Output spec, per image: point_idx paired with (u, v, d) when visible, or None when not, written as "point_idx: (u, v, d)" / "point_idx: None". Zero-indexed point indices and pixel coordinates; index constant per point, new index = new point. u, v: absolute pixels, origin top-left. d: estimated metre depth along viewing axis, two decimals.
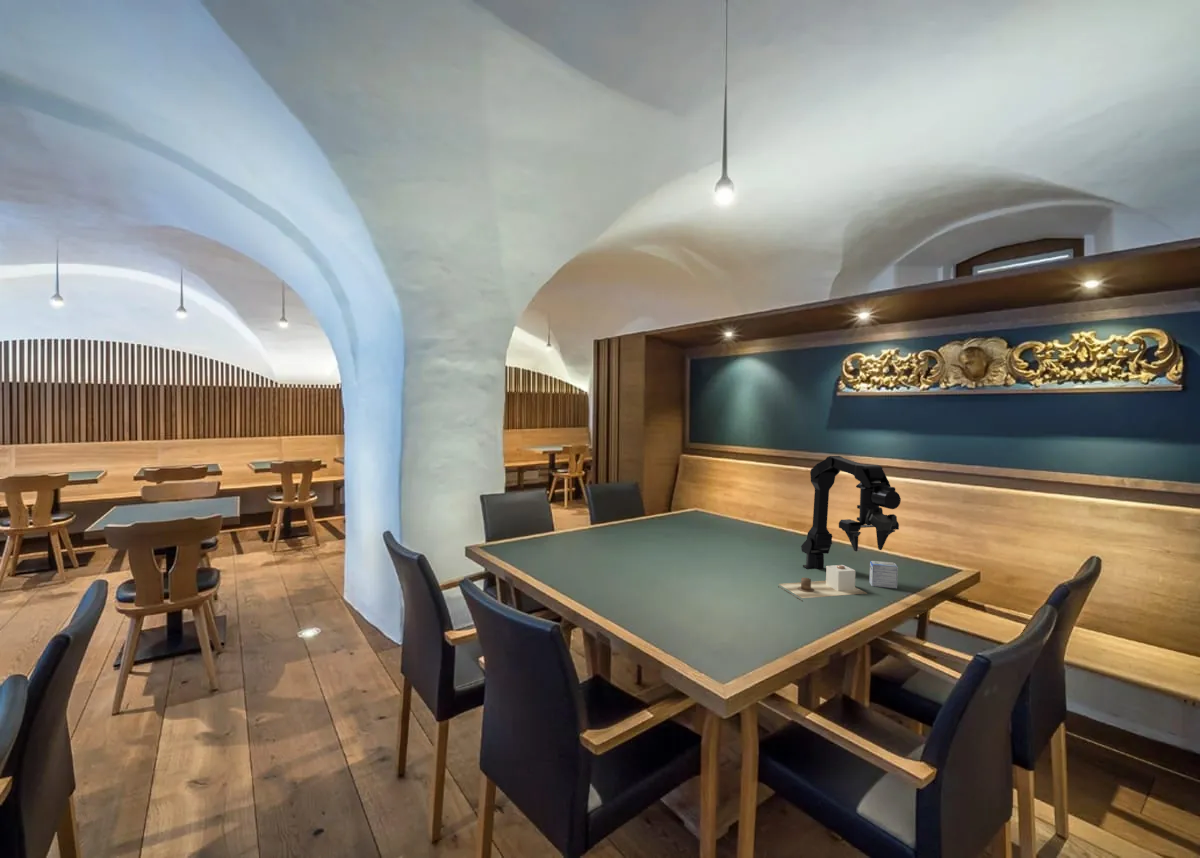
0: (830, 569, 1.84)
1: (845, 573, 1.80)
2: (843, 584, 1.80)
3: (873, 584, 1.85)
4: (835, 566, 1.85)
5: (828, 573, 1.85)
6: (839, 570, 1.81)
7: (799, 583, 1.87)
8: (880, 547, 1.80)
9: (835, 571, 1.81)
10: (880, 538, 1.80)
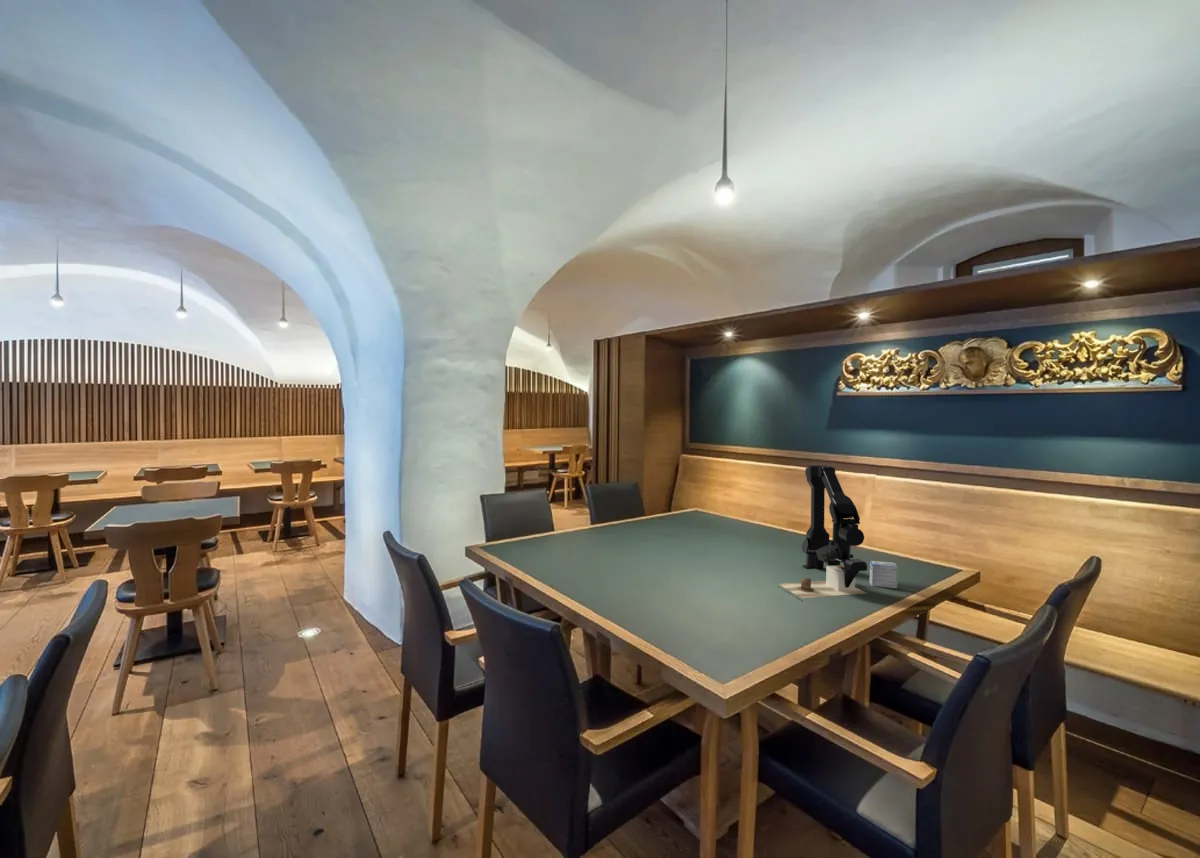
0: (830, 569, 1.84)
1: None
2: (843, 584, 1.80)
3: (873, 584, 1.85)
4: (835, 566, 1.85)
5: (828, 573, 1.85)
6: (839, 570, 1.81)
7: (799, 583, 1.87)
8: None
9: (835, 571, 1.81)
10: None
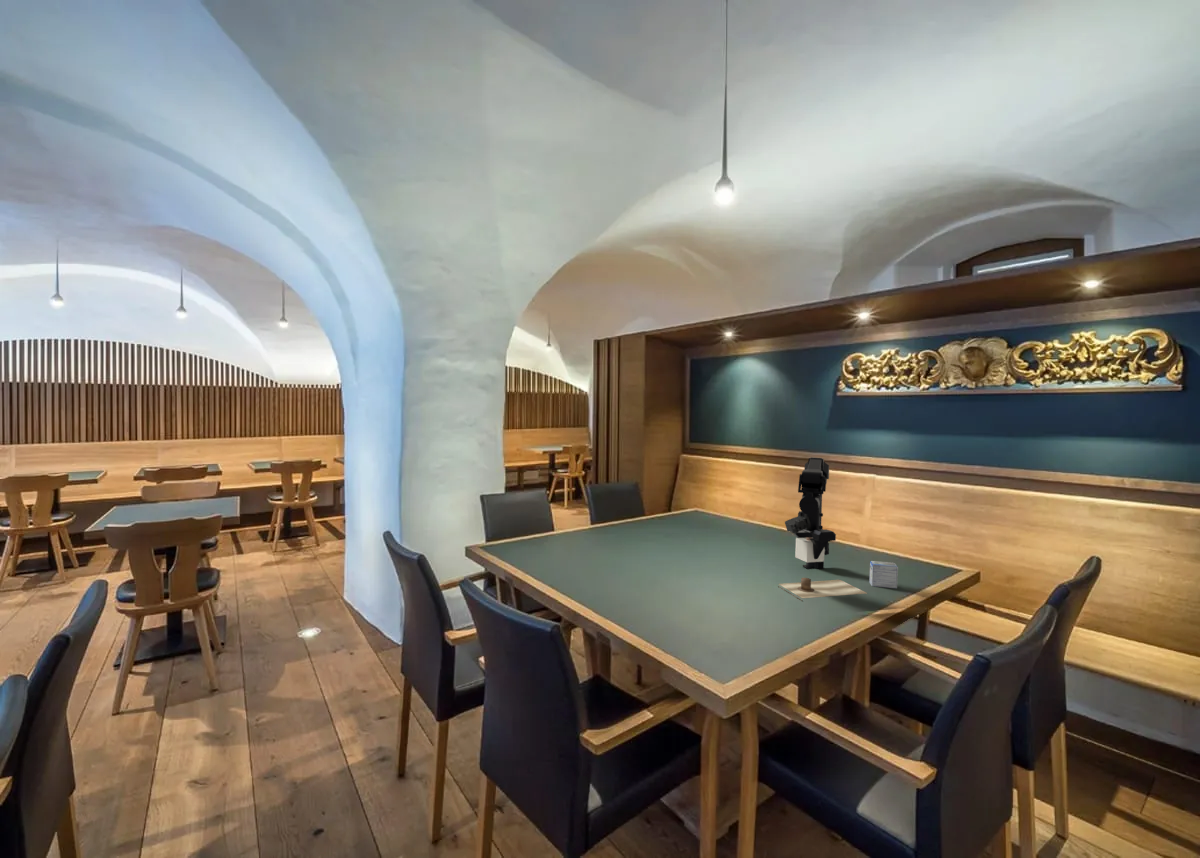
0: (799, 541, 1.80)
1: None
2: (812, 555, 1.77)
3: (873, 584, 1.85)
4: (804, 538, 1.82)
5: (797, 545, 1.81)
6: (808, 541, 1.77)
7: (799, 583, 1.87)
8: None
9: (804, 542, 1.78)
10: None
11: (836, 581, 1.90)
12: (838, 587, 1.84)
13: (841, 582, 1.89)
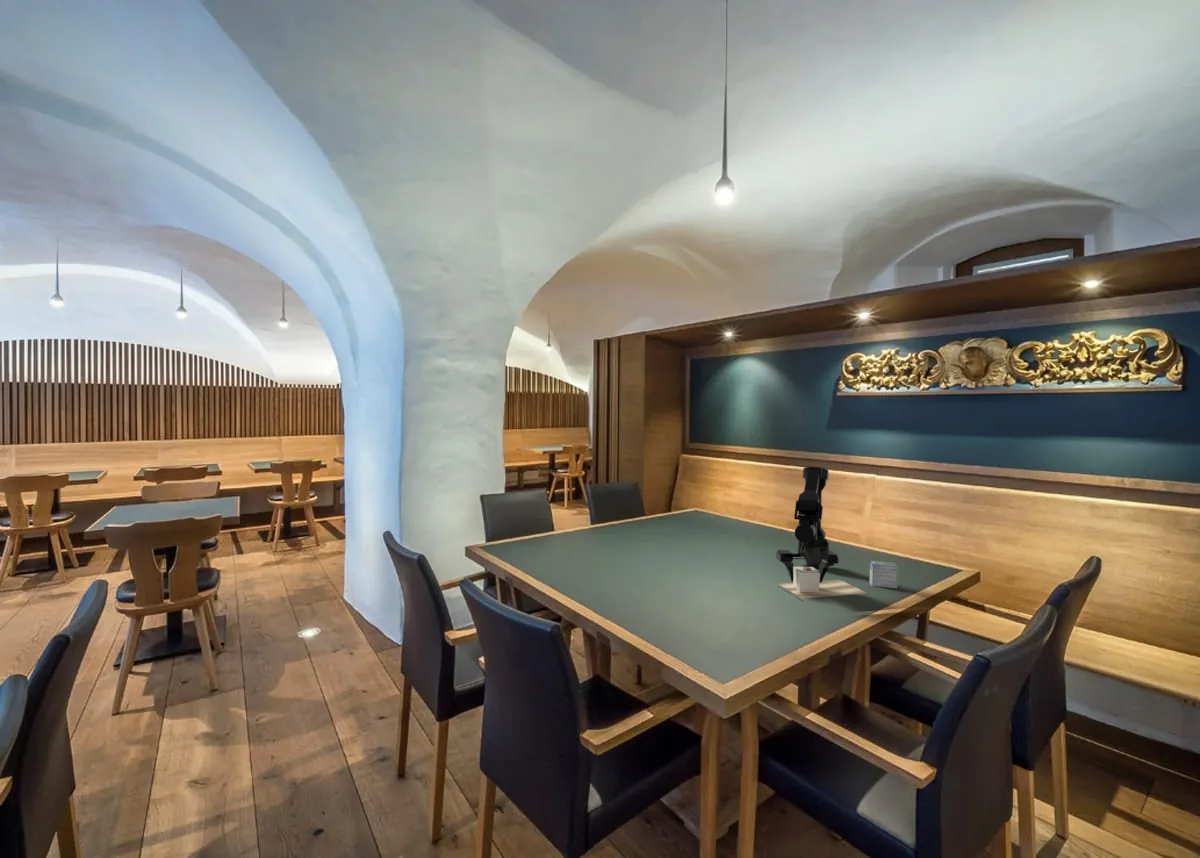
0: (806, 574, 1.78)
1: None
2: None
3: (873, 584, 1.85)
4: (801, 570, 1.80)
5: (803, 579, 1.78)
6: (815, 571, 1.78)
7: None
8: (820, 580, 1.80)
9: (814, 574, 1.77)
10: (820, 571, 1.81)
11: (836, 581, 1.90)
12: (838, 587, 1.84)
13: (841, 582, 1.89)
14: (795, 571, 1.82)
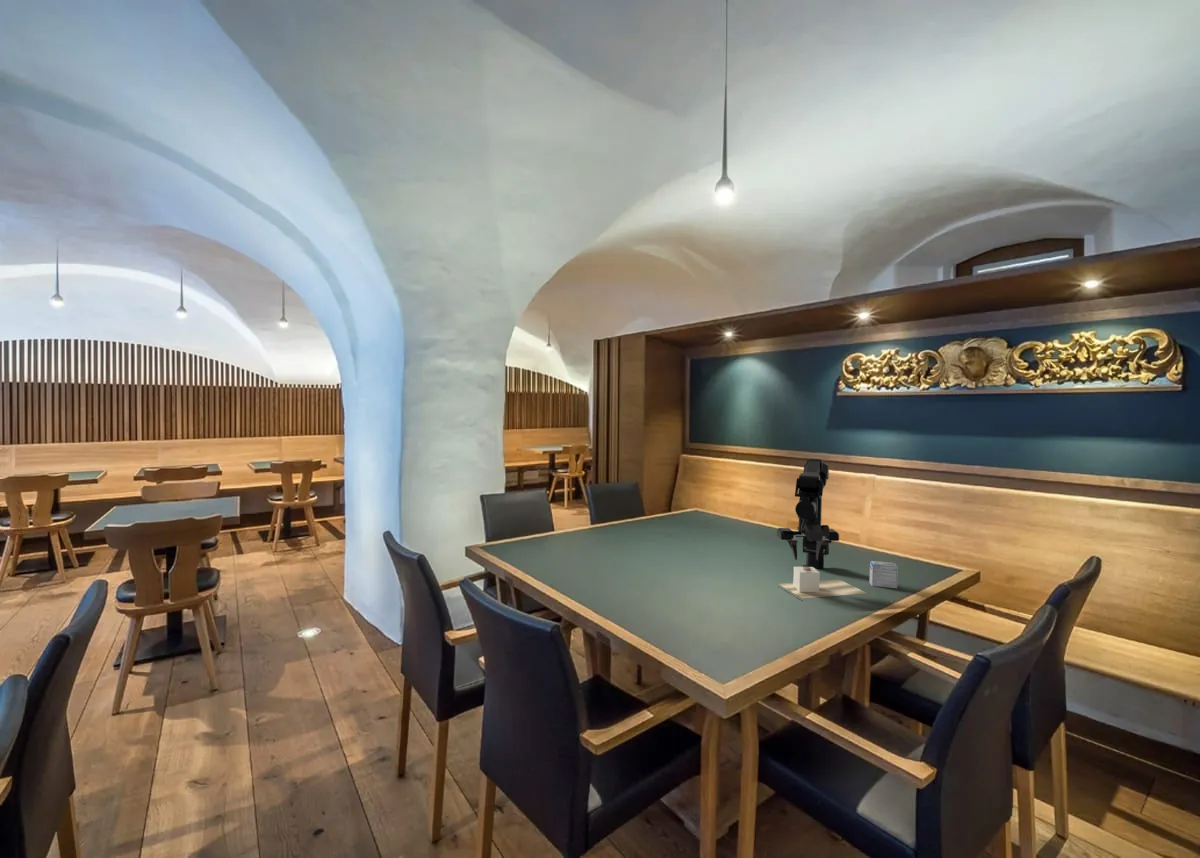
0: (806, 574, 1.78)
1: None
2: None
3: (873, 584, 1.85)
4: (801, 570, 1.80)
5: (803, 579, 1.78)
6: (815, 571, 1.78)
7: None
8: (817, 557, 1.80)
9: (814, 574, 1.77)
10: (818, 548, 1.80)
11: (836, 581, 1.90)
12: (838, 587, 1.84)
13: (841, 582, 1.89)
14: (795, 571, 1.82)
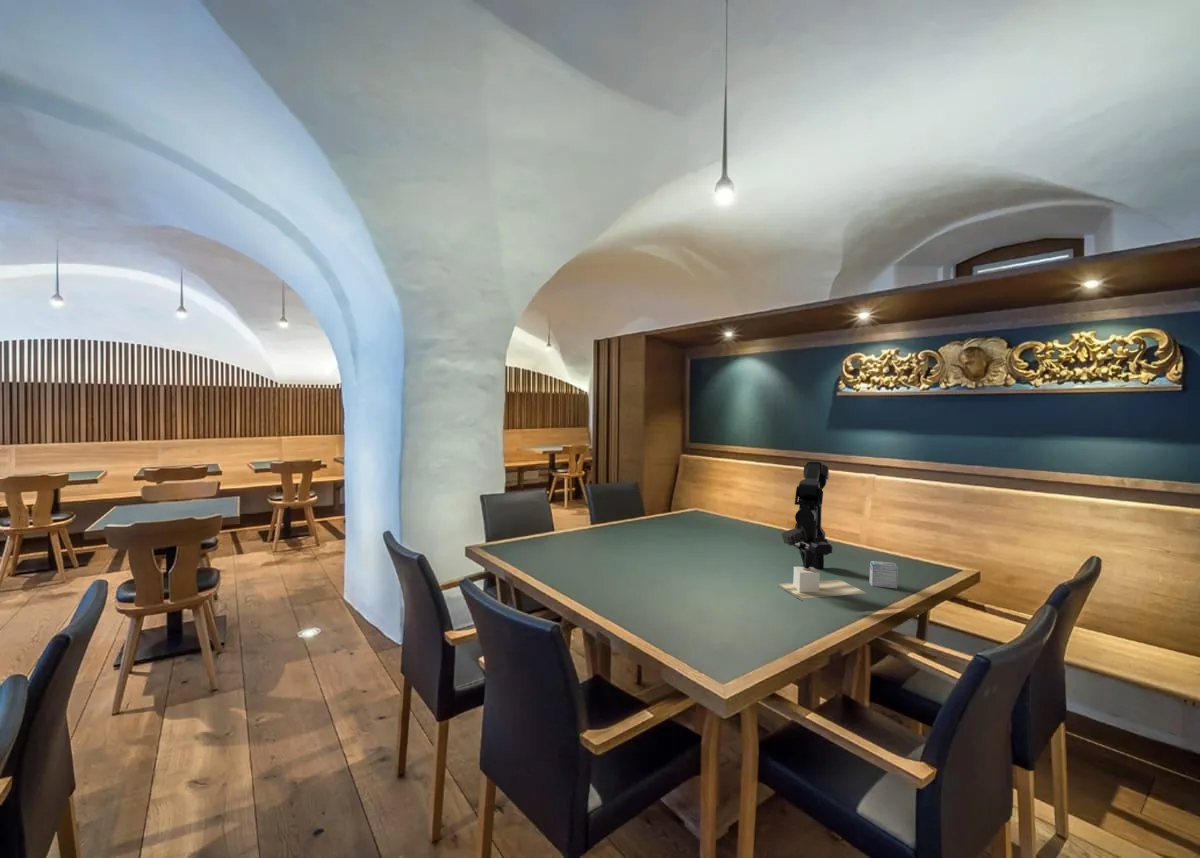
0: (806, 574, 1.78)
1: None
2: None
3: (873, 584, 1.85)
4: (801, 570, 1.80)
5: (803, 579, 1.78)
6: (815, 571, 1.78)
7: None
8: None
9: (814, 574, 1.77)
10: None
11: (836, 581, 1.90)
12: (838, 587, 1.84)
13: (841, 582, 1.89)
14: (795, 571, 1.82)
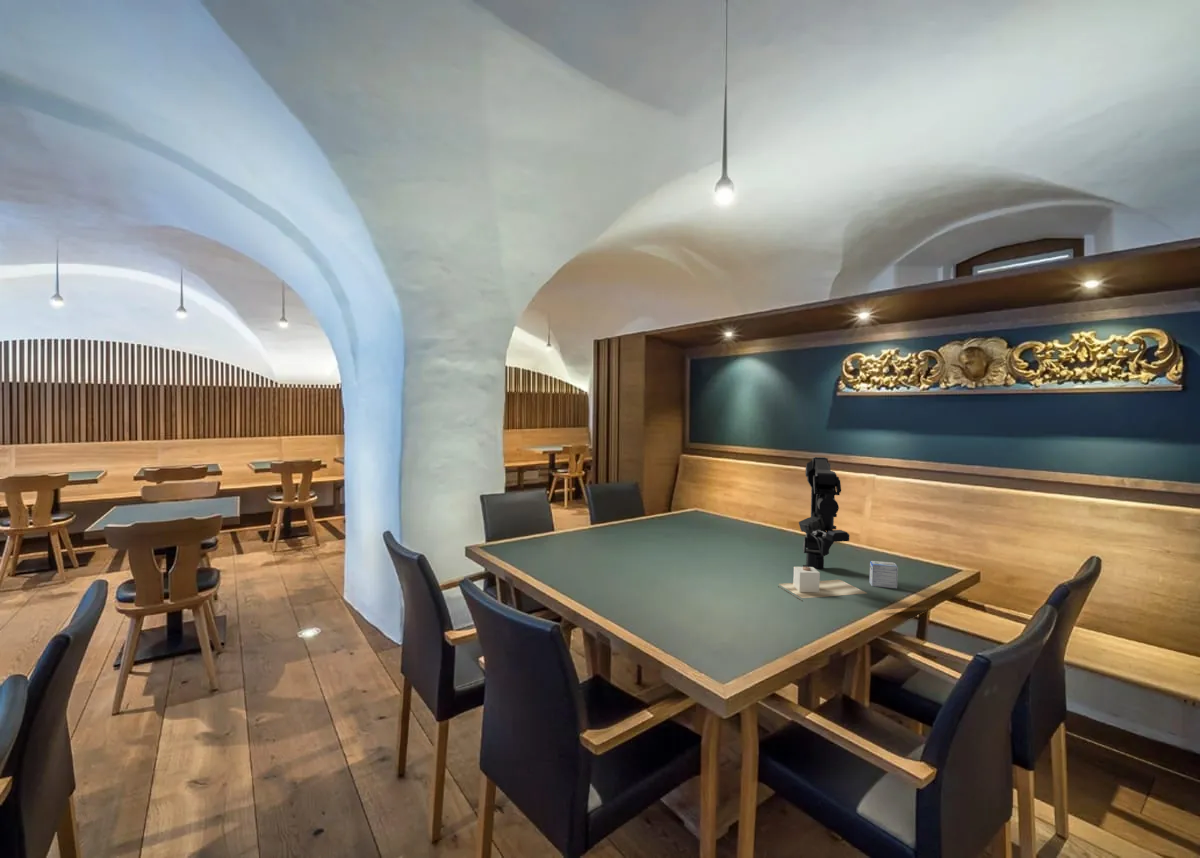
0: (806, 574, 1.78)
1: None
2: None
3: (873, 584, 1.85)
4: (801, 570, 1.80)
5: (803, 579, 1.78)
6: (815, 571, 1.78)
7: None
8: None
9: (814, 574, 1.77)
10: None
11: (836, 581, 1.90)
12: (838, 587, 1.84)
13: (841, 582, 1.89)
14: (795, 571, 1.82)
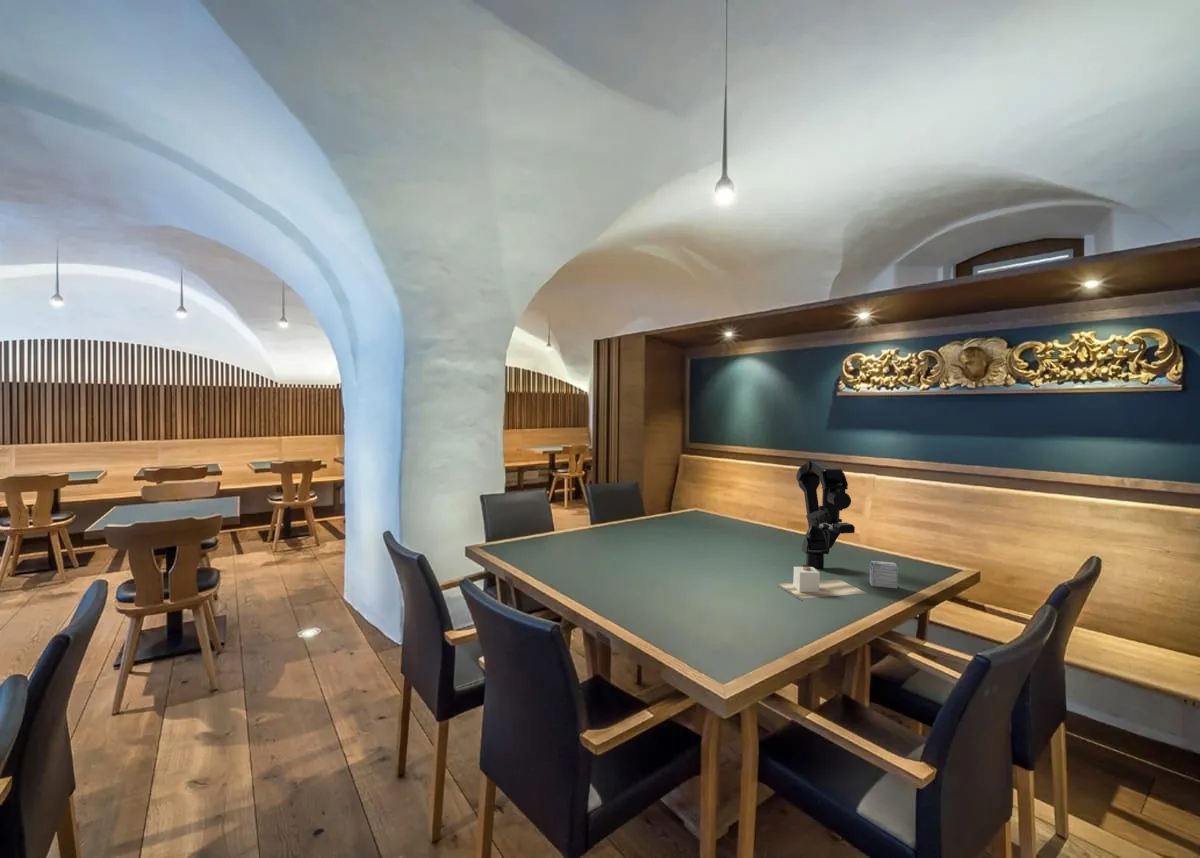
0: (806, 574, 1.78)
1: None
2: None
3: (873, 584, 1.85)
4: (801, 570, 1.80)
5: (803, 579, 1.78)
6: (815, 571, 1.78)
7: None
8: None
9: (814, 574, 1.77)
10: None
11: (836, 581, 1.90)
12: (838, 587, 1.84)
13: (841, 582, 1.89)
14: (795, 571, 1.82)
